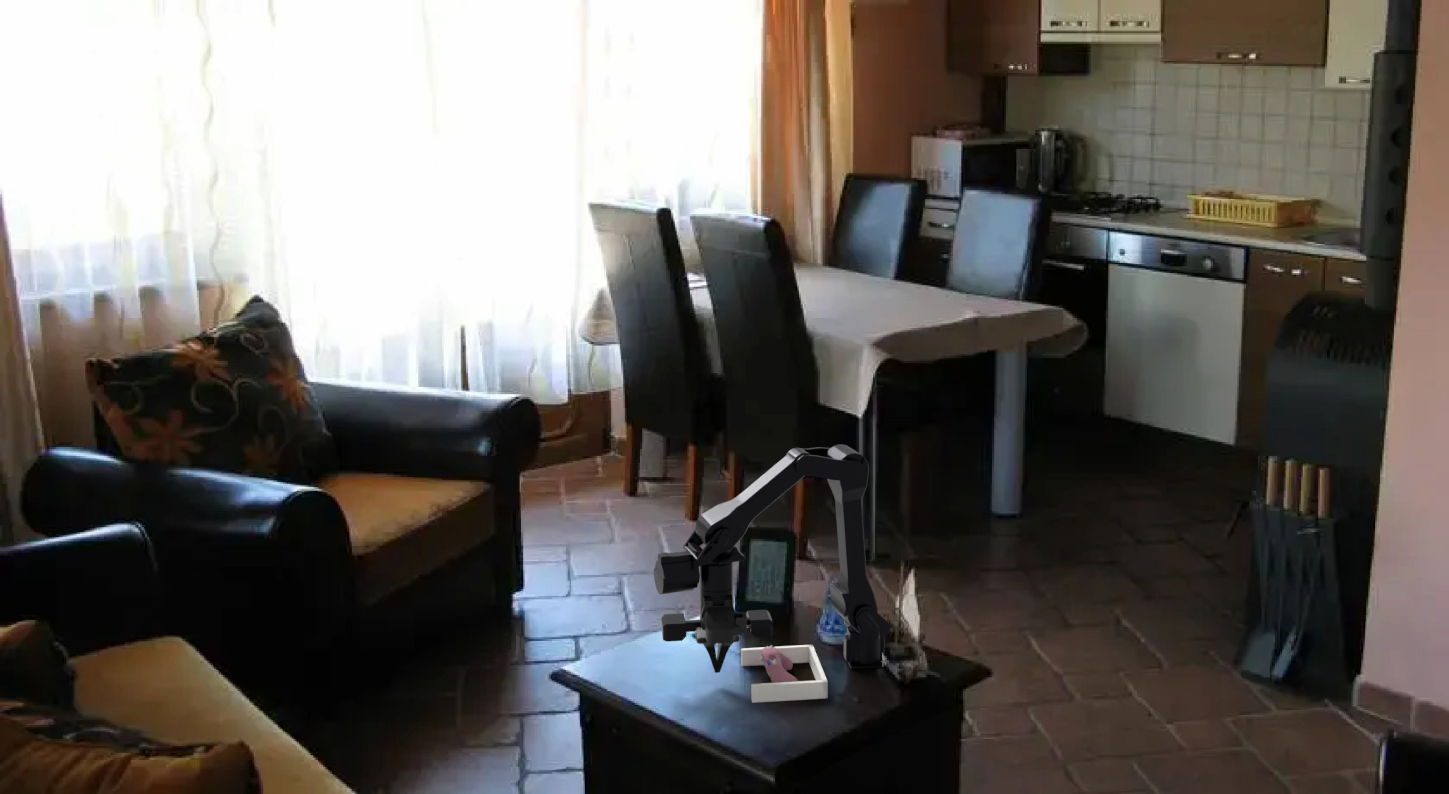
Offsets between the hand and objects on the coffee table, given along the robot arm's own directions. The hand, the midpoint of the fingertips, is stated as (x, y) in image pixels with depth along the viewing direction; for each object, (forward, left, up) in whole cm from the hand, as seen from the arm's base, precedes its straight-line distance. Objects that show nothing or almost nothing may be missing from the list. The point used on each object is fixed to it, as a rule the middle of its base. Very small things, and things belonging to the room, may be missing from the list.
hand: (717, 671), depth 257 cm
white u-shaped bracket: (-11, 0, -2) cm, 11 cm away
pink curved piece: (-11, 0, -3) cm, 11 cm away
